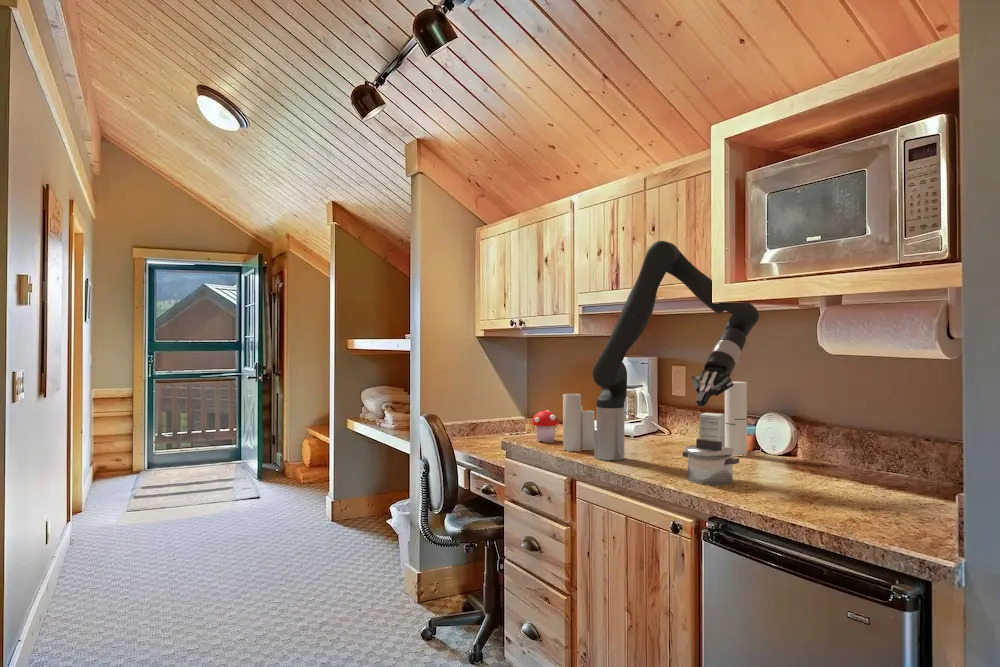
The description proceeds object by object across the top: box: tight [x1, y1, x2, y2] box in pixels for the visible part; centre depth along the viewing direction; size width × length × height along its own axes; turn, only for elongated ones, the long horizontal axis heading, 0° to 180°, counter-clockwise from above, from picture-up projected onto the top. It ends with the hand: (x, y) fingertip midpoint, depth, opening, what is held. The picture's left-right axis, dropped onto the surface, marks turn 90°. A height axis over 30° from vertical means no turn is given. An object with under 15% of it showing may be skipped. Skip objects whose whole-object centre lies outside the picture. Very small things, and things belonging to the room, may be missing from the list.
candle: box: [562, 393, 596, 452], centre depth 234 cm, size 11×7×20 cm, turn 107°
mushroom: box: [530, 409, 559, 443], centre depth 253 cm, size 11×11×12 cm
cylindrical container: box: [724, 381, 748, 456], centre depth 223 cm, size 7×7×25 cm
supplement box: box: [698, 412, 725, 447], centre depth 235 cm, size 7×7×13 cm
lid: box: [684, 438, 733, 457], centre depth 182 cm, size 13×13×3 cm
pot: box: [682, 451, 740, 486], centre depth 183 cm, size 16×14×8 cm
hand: (699, 404), depth 179 cm, fingers closed
